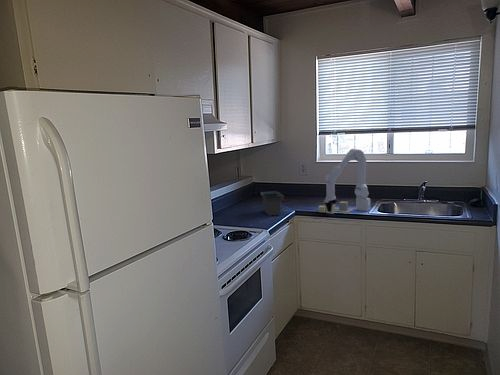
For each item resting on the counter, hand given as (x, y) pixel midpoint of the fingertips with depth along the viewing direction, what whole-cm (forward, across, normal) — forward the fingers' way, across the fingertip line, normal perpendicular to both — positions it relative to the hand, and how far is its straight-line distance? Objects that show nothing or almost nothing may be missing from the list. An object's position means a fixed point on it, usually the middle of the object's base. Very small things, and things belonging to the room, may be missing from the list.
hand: (330, 210), depth 265 cm
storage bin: (+2, +18, -37) cm, 41 cm away
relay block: (+2, 0, -7) cm, 7 cm away
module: (+1, 0, 0) cm, 1 cm away
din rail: (+1, -9, 0) cm, 9 cm away
